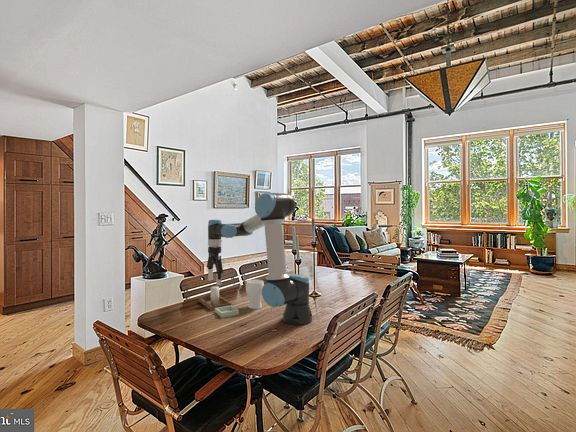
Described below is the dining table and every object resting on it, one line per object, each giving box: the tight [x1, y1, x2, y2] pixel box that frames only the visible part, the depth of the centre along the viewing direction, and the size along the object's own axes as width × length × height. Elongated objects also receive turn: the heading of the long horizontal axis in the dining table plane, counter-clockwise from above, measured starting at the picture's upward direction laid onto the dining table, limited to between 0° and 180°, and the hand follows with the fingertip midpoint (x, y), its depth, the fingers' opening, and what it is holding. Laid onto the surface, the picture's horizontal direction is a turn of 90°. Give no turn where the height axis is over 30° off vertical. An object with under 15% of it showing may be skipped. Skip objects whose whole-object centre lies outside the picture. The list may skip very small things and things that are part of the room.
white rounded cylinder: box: [210, 285, 220, 306], centre depth 196 cm, size 5×5×10 cm
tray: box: [198, 295, 232, 312], centre depth 197 cm, size 21×12×3 cm, turn 32°
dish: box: [214, 304, 240, 319], centre depth 181 cm, size 10×10×2 cm
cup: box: [245, 279, 265, 310], centre depth 193 cm, size 11×11×15 cm
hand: (214, 282), depth 196 cm, fingers open, 13 cm apart
